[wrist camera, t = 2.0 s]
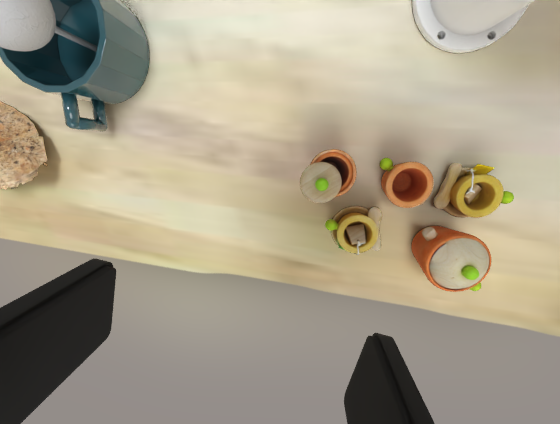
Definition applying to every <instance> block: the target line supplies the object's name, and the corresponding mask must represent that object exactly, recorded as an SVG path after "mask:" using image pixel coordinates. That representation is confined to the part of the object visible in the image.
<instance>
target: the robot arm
mask: <svg viewBox="0 0 560 424" xmlns="http://www.w3.org/2000/svg"><path fill="white" fill-rule="evenodd" d="M533 1H535V0H412V5H413V14H414V17H415V21H416V24H417V26H418V28H419V30H420V32H421V33H422V35H423V36H424V37H425V38H426V40H427V41H429V42H430V43H431V44H432V45H434V46H435V47H437V48H439V49H441V50H444V51H448V52H452V53H466V52H472V51H476V50H478V49H481V48H484V47H486V46H488V45H490V44H492V43H493V42H495V41H497V40H498V39H499V38H501V37H502V36H504V35H505V34H506V33H507V32H508V31H509V30H510V29H512V28H513V27H514V26H515V25H516V23H517V22H518V21H519V19H520V18H521V17H522V15H523V14H524V12H525V10H526V9H527V7H528V5H529V4H530V3H531V2H533ZM437 36H438V37H439V39H438V37H437ZM115 279H116V269H115V268H113V265H112V263H111V262H107V261H103V260H99V259H92V260H90V261H88V262H86V263H84V264H82V265H80V266H78V267H76V268H74V269H72V270H71V271H69V272H67V273H65V274H63V275H61V276H59V277H57V278H56V279H54V280H52V281H50V282H48V283H46V284H44V285H43V286H41V287H39V288H37V289H35V290H33V291H31V292H29V293H28V294H26V295H24V296H22V297H20V298H18V299H16V300H14V301H12V302H11V303H9V304H7V305H5V306H3V307H1V308H0V424H21V423H22V422H23V420H25V419H26V417H28V415H30V414H31V413H32V412H33V411H34V410H35V409H36V408H37V407H38V406H39V405H40V404H41V403H42V402H43V401H44V400H45V399H46V398H47V397H48V396H49V395H50V394H51V393H52V392H53V391H54V390H55V389H56V388H57V387H58V386H59V385H60V384H61V383H62V382H63V381H64V380H65V379H66V378H67V377H68V376H69V375H70V374H71V373H72V372H73V371H74V370H75V369H76V368H77V367H79V366H80V365H81V364H82V363H83V362H84V361H85V360H86V358H88V357H89V356H90V355H91V354H92V353H93V352H94V351H95V350H96V349H97V348H98V347H99V346H100V345H101V344H102V343H103V342H104V341H105V340H106V339H107V337H108V336H109V334H110V331H111V324H112V313H113V301H114V290H115ZM344 405H345V411H346V417H347V423H348V424H434V422H433V420H432V417H431V415H430V413H429V411H428V409H427V407H426V405H425V403H424V401H423V399H422V397H421V395H420V393H419V391H418V389H417V387H416V385H415V382H414V380H413V378H412V376H411V374H410V372H409V370H408V368H407V366H406V364H405V362H404V360H403V358H402V356H401V354H400V352H399V349H398V347H397V345H396V343H395V341H394V339H393V338H392V337H390V336H386V335H382V334H378V333H374V334H373V336H368V337H367V339H366V342H365V344H364V347H363V349H362V352H361V355H360V357H359V359H358V362H357V365H356V367H355V370H354V372H353V374H352V377H351V380H350V382H349V385H348V387H347V390H346V393H345V397H344Z"/></svg>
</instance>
